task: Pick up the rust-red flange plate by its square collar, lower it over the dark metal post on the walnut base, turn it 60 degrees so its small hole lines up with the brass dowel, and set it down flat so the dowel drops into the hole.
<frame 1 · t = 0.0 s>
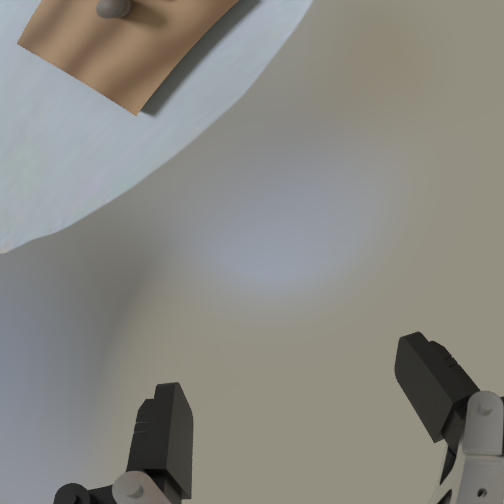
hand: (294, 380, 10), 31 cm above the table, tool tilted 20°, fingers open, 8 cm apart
post base: (125, 7, 23), on the table
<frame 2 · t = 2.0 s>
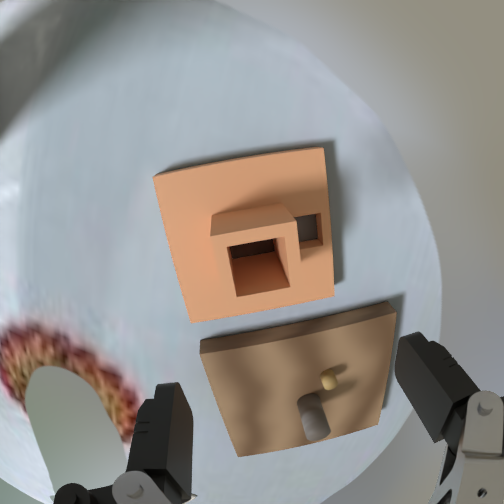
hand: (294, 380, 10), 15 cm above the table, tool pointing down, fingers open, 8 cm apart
post base: (303, 387, 32), on the table
flange plate: (250, 235, 25), on the table
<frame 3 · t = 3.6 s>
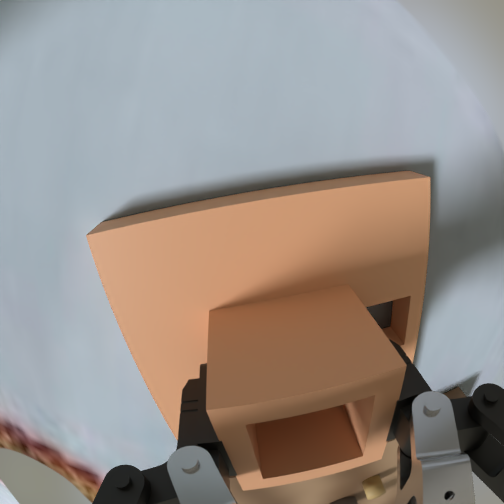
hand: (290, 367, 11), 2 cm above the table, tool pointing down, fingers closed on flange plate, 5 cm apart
post base: (335, 484, 20), on the table
flange plate: (280, 329, 13), on the table, touching gripper
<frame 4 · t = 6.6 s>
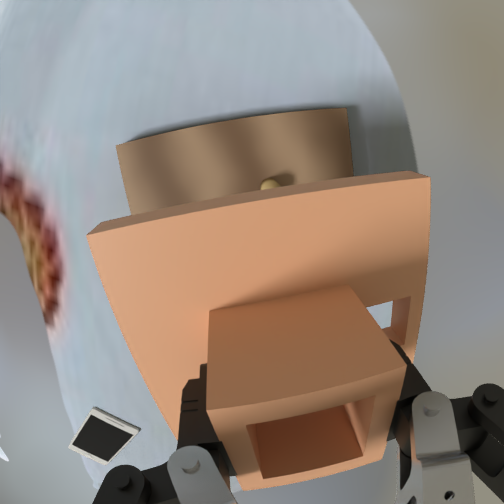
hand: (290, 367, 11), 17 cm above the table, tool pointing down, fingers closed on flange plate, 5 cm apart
smartphone: (100, 436, 38), on the table
post base: (247, 226, 27), on the table
flange plate: (280, 329, 13), point 15 cm above the table, touching gripper
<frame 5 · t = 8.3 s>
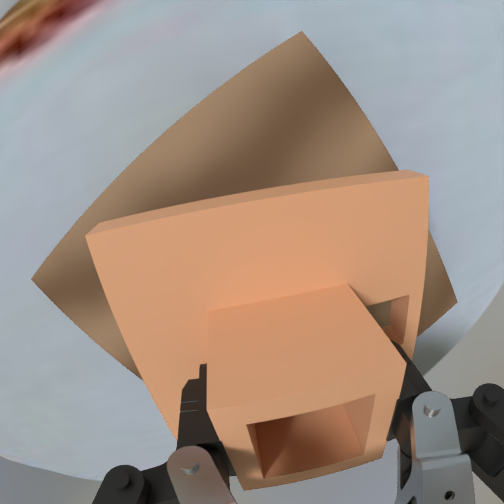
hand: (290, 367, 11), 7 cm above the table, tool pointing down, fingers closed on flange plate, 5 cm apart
post base: (261, 281, 17), on the table
flange plate: (279, 329, 13), point 4 cm above the table, touching gripper
when the fingers open (5 cm above the table, at t = 9.9 s): flange plate stays where it is, resting on post base.
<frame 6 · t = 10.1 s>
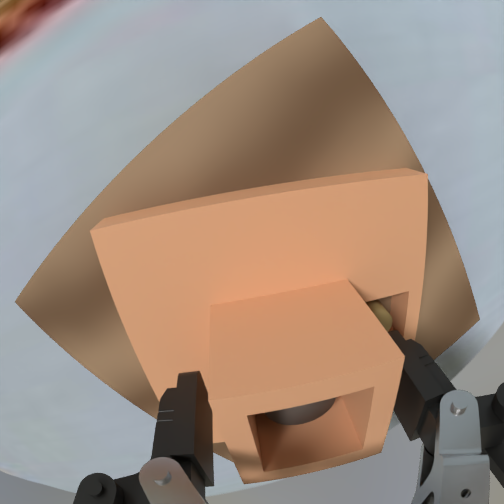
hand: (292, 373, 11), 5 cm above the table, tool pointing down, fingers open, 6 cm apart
post base: (272, 303, 15), on the table
flange plate: (280, 325, 14), point 2 cm above the table, touching post base
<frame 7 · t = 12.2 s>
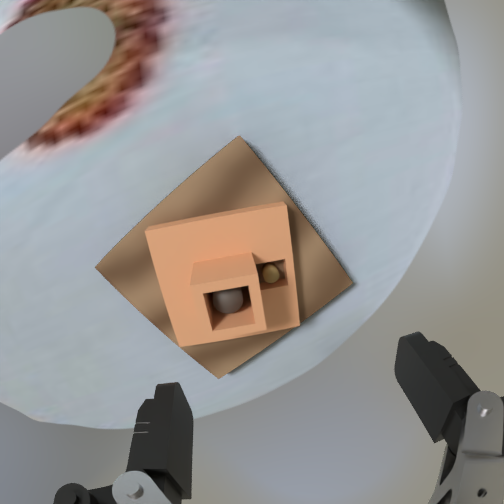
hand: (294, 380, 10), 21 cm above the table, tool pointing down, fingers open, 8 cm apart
post base: (225, 268, 31), on the table
flange plate: (227, 276, 29), point 2 cm above the table, touching post base
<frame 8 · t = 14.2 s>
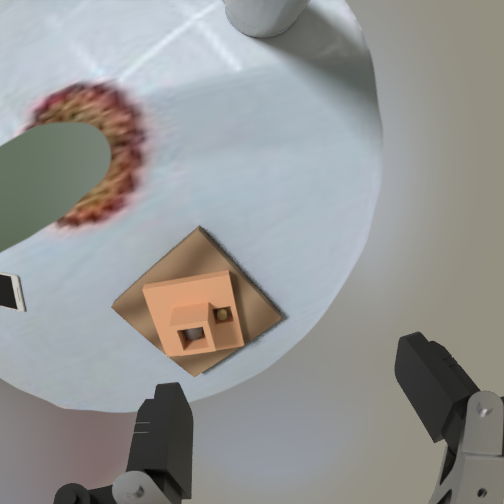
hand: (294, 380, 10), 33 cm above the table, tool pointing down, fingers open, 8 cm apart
post base: (195, 307, 47), on the table
flange plate: (195, 314, 45), point 2 cm above the table, touching post base
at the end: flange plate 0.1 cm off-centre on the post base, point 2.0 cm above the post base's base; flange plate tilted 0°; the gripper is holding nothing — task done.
